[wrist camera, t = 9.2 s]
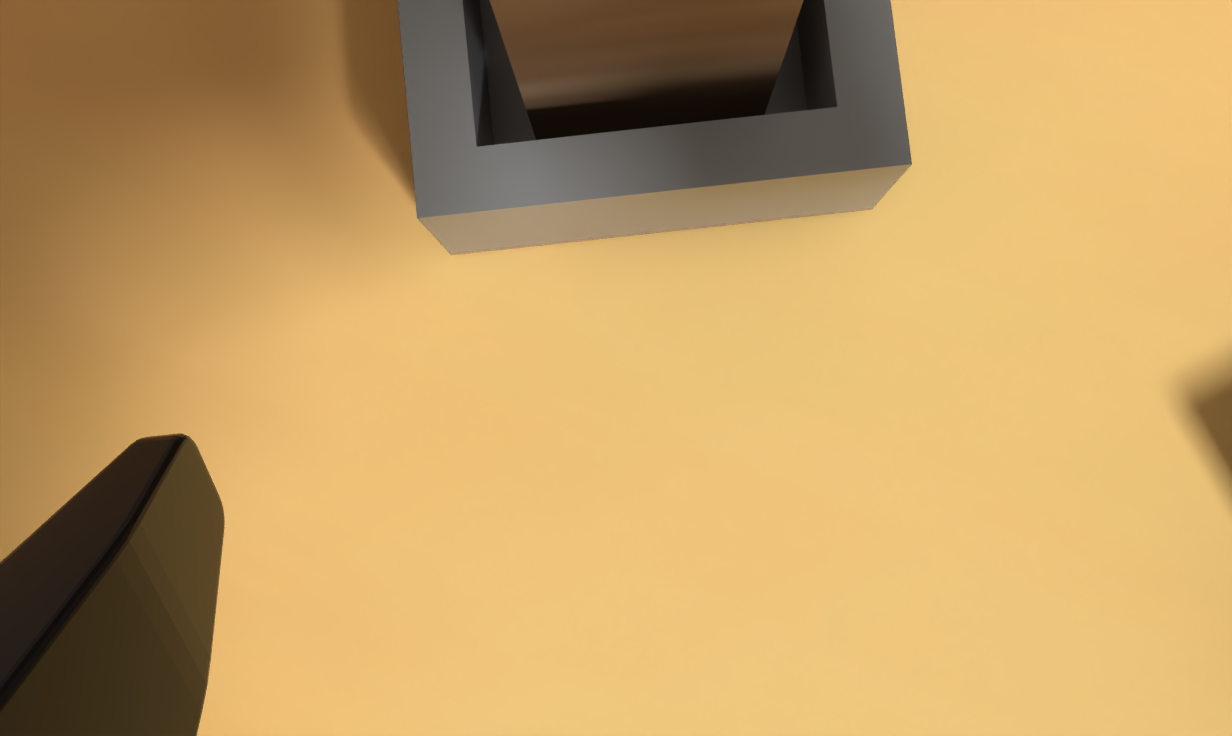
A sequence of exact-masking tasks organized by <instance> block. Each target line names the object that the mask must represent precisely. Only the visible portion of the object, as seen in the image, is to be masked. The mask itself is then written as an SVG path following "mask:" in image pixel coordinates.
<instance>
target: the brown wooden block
mask: <svg viewBox="0 0 1232 736" xmlns="http://www.w3.org/2000/svg"><path fill="white" fill-rule="evenodd" d="M490 3H491V6H492V9H493V12H494V15H495V18H496V21H497V24H498V27H499V30H500V33H501V36H502V39H503V42H504V45H505V48H506V51H507V54H508V57H509V60H510V63H511V66H512V69H513V72H514V75H515V78H516V81H517V84H518V87H519V90H520V93H521V96H522V99H523V102H524V105H525V108H526V111H527V114H528V117H529V120H530V123H531V126H532V129H533V132H534V135H535V138H536V140H539V139H548V138H557V137H567V136H576V135H585V134H594V133H603V132H612V131H621V130H630V129H639V128H648V127H658V126H667V125H676V124H685V123H694V122H703V121H712V120H721V119H730V118H739V117H749V116H758V115H765V112H766V109H767V106H768V103H769V100H770V97H771V94H772V91H773V88H774V85H775V83H776V80H777V77H778V74H779V71H780V68H781V65H782V62H783V59H784V56H785V53H786V50H787V47H788V44H789V41H790V39H791V36H792V33H793V30H794V27H795V24H796V21H797V18H798V15H799V12H800V9H801V6H802V3H803V0H490Z"/></svg>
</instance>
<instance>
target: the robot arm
mask: <svg viewBox="0 0 1232 736" xmlns="http://www.w3.org/2000/svg"><path fill="white" fill-rule="evenodd" d="M223 536H224V511H223V506H222V502H221V499H220V497H219V494H218V492H217V490H216V488H215V485H214V483H213V481H212V479H211V476H210V474H209V472H208V470H207V468H206V465H205V463H204V461H203V459H202V456H201V454H200V452H199V450H198V448H197V446H196V444H195V442H194V441H193V440H192V439H191V438H190V437H189V436H187V435H184V434H170V435H161V436H152V437H145V438H141V439H138V440H136V441H135V442H134V443H132V444H131V445H130V446H129V447H128V448H127V449H125V450H124V451H123V452H122V453H121V454H120V455H119V456H118V457H117V458H115V459H114V460H113V461H112V462H111V463H110V464H109V465H108V466H107V467H106V468H104V469H103V470H102V471H101V472H100V473H99V474H98V475H97V476H96V477H94V478H93V479H92V480H91V481H90V482H89V483H88V484H87V485H86V486H84V487H83V488H82V489H81V490H80V491H79V492H78V493H77V494H76V495H75V496H73V497H72V498H71V499H70V500H69V501H68V502H67V503H66V504H65V505H63V506H62V507H61V508H60V509H59V510H58V511H57V512H56V513H55V514H53V515H52V516H51V517H50V518H49V519H48V520H47V521H46V522H45V523H44V524H42V525H41V526H40V527H39V528H38V529H37V530H36V531H35V532H34V533H32V534H31V535H30V536H29V537H28V538H27V539H26V540H25V541H24V542H22V543H21V544H20V545H19V546H18V547H17V548H16V549H15V550H14V551H12V552H11V553H10V554H9V555H8V556H7V557H6V558H5V559H4V560H3V561H1V562H0V736H197V731H198V727H199V723H200V718H201V714H202V709H203V704H204V699H205V694H206V689H207V683H208V676H209V668H210V661H211V652H212V642H213V632H214V623H215V613H216V603H217V594H218V584H219V575H220V565H221V555H222V546H223Z"/></svg>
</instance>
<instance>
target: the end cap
mask: <svg viewBox="0 0 1232 736" xmlns="http://www.w3.org/2000/svg"><path fill="white" fill-rule="evenodd" d="M397 1H398V12H399V23H400V34H401V45H402V56H403V67H404V78H405V89H406V100H407V111H408V122H409V133H410V144H411V155H412V166H413V177H414V188H415V199H416V210H417V219H418V220H419V221H420V222H421V223H422V224H423V225H424V226H425V227H426V228H427V229H428V230H429V232H430V233H431V234H432V235H433V236H434V237H435V238H436V239H437V240H438V241H439V242H440V244H441V245H442V246H443V247H444V248H445V249H446V250H447V251H448V252H449V253H450V254H451V255H456V254H465V253H474V252H483V251H493V250H502V249H511V248H520V247H529V246H539V245H548V244H557V243H566V242H575V241H585V240H594V239H603V238H612V237H621V236H630V235H640V234H649V233H658V232H667V231H676V230H686V229H695V228H704V227H713V226H722V225H731V224H741V223H750V222H759V221H768V220H777V219H787V218H796V217H805V216H814V215H823V214H833V213H842V212H851V211H860V210H869V209H873V207H874V206H875V205H876V204H877V203H878V202H879V201H880V200H881V198H882V197H883V196H884V195H885V194H886V193H887V192H888V191H889V189H890V188H891V187H892V186H893V185H894V184H895V183H896V181H897V180H898V179H899V178H900V177H901V176H902V175H903V174H904V172H905V171H906V170H907V169H908V168H909V167H910V166H911V165H912V162H911V154H910V146H909V139H908V131H907V123H906V116H905V108H904V100H903V93H902V85H901V78H900V70H899V62H898V55H897V47H896V39H895V32H894V24H893V16H892V9H891V1H890V0H803V3H802V6H801V9H800V12H799V15H798V18H797V21H796V24H795V27H794V30H793V33H792V36H791V39H790V41H789V44H788V47H787V50H786V53H785V56H784V59H783V62H782V65H781V68H780V71H779V74H778V77H777V80H776V83H775V85H774V88H773V91H772V94H771V97H770V100H769V103H768V106H767V109H766V112H765V115H758V116H749V117H739V118H730V119H721V120H712V121H703V122H694V123H685V124H676V125H667V126H658V127H648V128H639V129H630V130H621V131H612V132H603V133H594V134H585V135H576V136H567V137H557V138H548V139H539V140H536V138H535V135H534V132H533V129H532V126H531V123H530V120H529V117H528V114H527V111H526V108H525V105H524V102H523V99H522V96H521V93H520V90H519V87H518V84H517V81H516V78H515V75H514V72H513V69H512V66H511V63H510V60H509V57H508V54H507V51H506V48H505V45H504V42H503V39H502V36H501V33H500V30H499V27H498V24H497V21H496V18H495V15H494V12H493V9H492V6H491V3H490V0H397Z"/></svg>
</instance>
